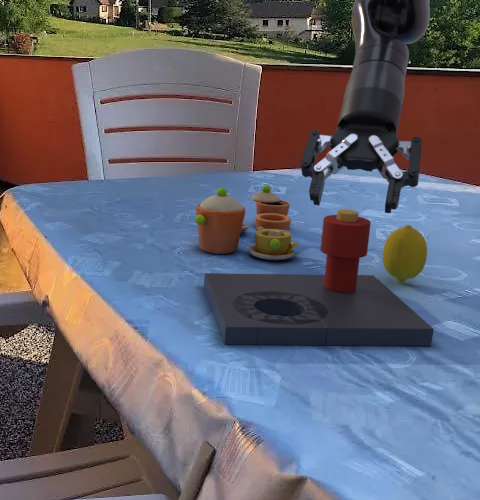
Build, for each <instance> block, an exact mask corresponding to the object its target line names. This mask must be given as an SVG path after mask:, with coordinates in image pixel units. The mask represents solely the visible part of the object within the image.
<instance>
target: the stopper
mask: <svg viewBox="0 0 480 500" xmlns="http://www.w3.org/2000/svg"><path fill="white" fill-rule="evenodd" d="M336 211H337V212H336V214H330V215H326V216H324V217H323V219H322V220H323V223H322V231H321V240H320V241H321V242H320V252H321V253H323V254H325V255H326V260H325V270H324V275H325V278H324V287H325V288H327V289H329V290H332V291H336V292H352V291H355V290H356V284H357V275H359V265H360V259H361V258H365V257H366V256H367V255H368V248H369V242H370V241H369V240H370V233H371V232H370V231H371V224H372V223H371V221H370V220H369V219H368V218H365V217H361V216H359V211H358V210H353V209H338V210H336Z"/></svg>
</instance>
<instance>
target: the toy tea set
mask: <svg viewBox="0 0 480 500" xmlns="http://www.w3.org/2000/svg"><path fill="white" fill-rule="evenodd" d="M271 190H272V188H271V185H269V184H264V185H263V186H262V187H261V191H258V192H256V193H254V194H253V195H251V197H250V199H251V201H253V202H255V208H256V215H255V216H254V218H255V219H254V220H255V232H254V243H255V244H254V245H253V244H252V245H251V246H249V248H248V252H249V254H250V255H251V256H254V257H256V258H258V259H261V260H266V261H282V260H287V259H291V258H293V257H294V256H295V251H294V249H295V248H296V247H297V246H299V241H295V242H294V241H292V233H291V232H290V226H291V222H292V217H290V216H288V215H289V211H290V206H291V202H289V201H287V200H284V199H281V198H280V197H279V196H278V195H277V194H275V193H274V192H271ZM227 194H228V191H227V188H226V187H219V188H218V189H217V190H216V194H214V195H211V196H209V197H207V198H206V199H204V200H203V201H202V202H201V203H198V204H197V205H196V207H195V215H196V216H195V218H194V222H195V223H196V226H197V235H198V244H199V248H200V250H201V251H203V252H206V253H209V254H216V255H226V254H232V253H235V252H236V251H237V250H238V247H239V243H240V239H241V234H242V233H244V232H246V231H247V230H249V229H250V227H249V226H248V225H246V224H244V221H245V220H244V219H245V215H246V208H245V207H244V205H242V203H240V202H239V201H238V200H237V198H235V197H233V196H230V195H227Z"/></svg>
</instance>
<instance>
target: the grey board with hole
mask: <svg viewBox="0 0 480 500" xmlns="http://www.w3.org/2000/svg"><path fill="white" fill-rule="evenodd" d="M324 278H325V274H302V273H301V274H296V273H295V274H294V273H293V274H292V273H288V274H287V273H282V274H281V273H225V272H224V273H221V272H219V273H217V272H215V273H213V272H208V273H207V272H205V273H204V278H203V290H204V292H205V296H206V298H207V300H208V303H209V306H210V309H211V311H212V314H213V316H214V320H215V322H216V325H217V328H218V330H219V333H220V336H221V339H222V341H223V343H224V345H235V346H236V345H237V346H238V345H241V346H243V345H245V346H253V345H254V346H255V345H259V346H260V345H261V346H263V345H268V346H373V347H377V346H379V347H381V346H383V347H387V346H388V347H394V346H395V347H432V343H433V337H434V327H432V325H430V324H429V323H428V322H427V321H426V320H424V319H423V318H422V317H421V316H420V315H419V314H418V313H417V312H415V311H414V310H413V309H412V308H411V307H410V306H409V305H408V304H407V303H405V302H404V301H403V299H401V298H400V297H399V296H397V294H396V293H394V292H393V291H392V290H391V289H390V288H388V286H386V285H385V284H384V283H383V282H382V281H381V280H380V279H378V278H377V277H376V276H375V275H373V274H358V275H357V284H356V290H355V291H352V292H336V291H332V290H329V289H327V288H325V287H324Z"/></svg>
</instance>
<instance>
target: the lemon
mask: <svg viewBox="0 0 480 500" xmlns="http://www.w3.org/2000/svg"><path fill="white" fill-rule="evenodd" d="M427 258H428V243H427V241H426V237H424V235H423V234H422V233H421V232H420V231H419V230H418V229H416V228H413V226H412V225H411V224H405V225H404V226H402V227H399V228H396V229H395V230H393V231H392V232H390V234H389V235H388V236H387V238H386V239H385V242H384V244H383V247H382V264H383V267H384V269H385V271H386V272H387V273H388V274H389V275H390V276H391V277H393V278H395V279H396V281H397V282H398V283H401V284H404V283H405V282H406V281H408V280H411V279H413V278H415V277H417V276H418V275H420V274H421V272H422V271H423V270H424V268H425V266H426V263H427V260H428V259H427Z"/></svg>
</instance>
